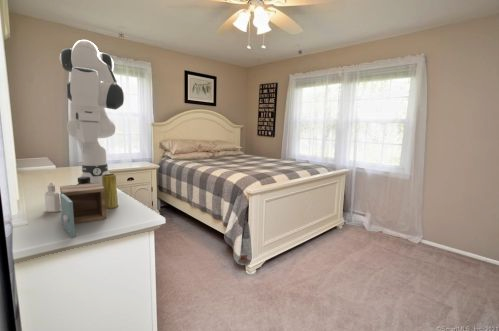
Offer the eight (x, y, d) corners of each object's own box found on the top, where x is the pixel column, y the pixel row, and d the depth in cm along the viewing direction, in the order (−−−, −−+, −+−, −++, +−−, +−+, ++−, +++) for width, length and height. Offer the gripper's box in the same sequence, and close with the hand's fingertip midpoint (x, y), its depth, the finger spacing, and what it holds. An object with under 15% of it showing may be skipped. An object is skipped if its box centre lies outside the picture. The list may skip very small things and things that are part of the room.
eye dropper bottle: (47, 213, 104) (45, 184, 103) (45, 210, 108) (43, 181, 107) (61, 211, 108) (58, 182, 106) (58, 208, 111) (56, 180, 110)
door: (65, 224, 92) (63, 193, 90) (75, 236, 83) (72, 201, 81) (58, 226, 90) (55, 194, 89) (67, 238, 81) (64, 203, 80)
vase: (111, 209, 112) (109, 176, 110) (99, 208, 113) (97, 175, 111) (121, 205, 118) (119, 173, 116) (109, 204, 119) (107, 173, 117)
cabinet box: (62, 216, 102) (60, 186, 100) (100, 210, 110) (98, 182, 108) (64, 225, 93) (62, 192, 91) (106, 218, 101) (104, 188, 99)
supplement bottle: (97, 203, 120) (95, 177, 118) (80, 206, 115) (78, 179, 113) (90, 200, 124) (88, 175, 122) (74, 203, 119) (72, 177, 117)
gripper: (71, 113, 99) (72, 150, 101) (79, 115, 84) (80, 158, 86) (90, 115, 103) (91, 150, 105) (101, 116, 88) (102, 157, 90)
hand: (86, 153), depth 95 cm, fingers closed
